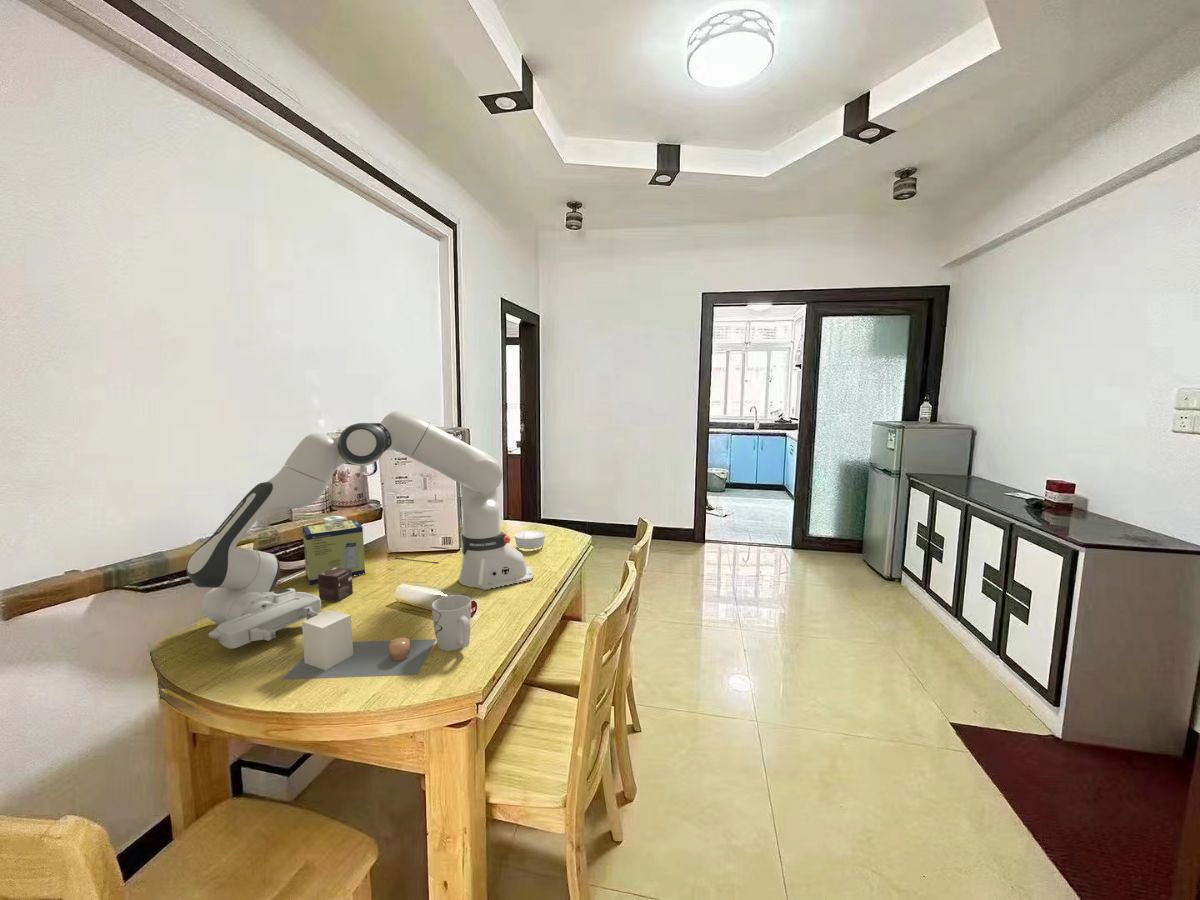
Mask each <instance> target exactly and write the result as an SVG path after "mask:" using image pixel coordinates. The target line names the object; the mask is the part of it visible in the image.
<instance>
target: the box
mask: <svg viewBox="0 0 1200 900" xmlns="http://www.w3.org/2000/svg"><path fill="white" fill-rule="evenodd" d="M317 584H318V597H320V599H321V601H325V602H327V601H328V602H340V601H343V599H344V600H345V599H346V598H348V597H349V596H351V595H352V594H354V589H353V577H352V573H351V569H345V568H332V569H330V570H327V571H325V572H323V573H321V574H319V575H318V583H317ZM347 596H348V597H347Z"/></svg>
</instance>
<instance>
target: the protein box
mask: <svg viewBox="0 0 1200 900" xmlns="http://www.w3.org/2000/svg"><path fill="white" fill-rule="evenodd" d="M363 528H364V527H363V526H362V525H361V524H360V523H359V521H358V520H357V519H351V520H347V521H343V522H337V523H329V524H323V523H322V524H317V525H309V526H308V525H307V526H302V537H303V548H304V549H303V551H304V552H303V553H304V561H305V574H306V579H307V581H308V583H309V586H312V585H317V584H319V583H318V575H319V574H321V573H323V572H325V571H327V570H330V569H332V568H345V569H351V573H352V576H353V577H355V576H354V575H358V576H360V575H359V574H363V573H365V574H366V568H365V567H366V562H365V544H364V532H363V531H364V529H363ZM363 575H364V574H363Z"/></svg>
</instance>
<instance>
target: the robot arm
mask: <svg viewBox="0 0 1200 900" xmlns="http://www.w3.org/2000/svg"><path fill="white" fill-rule="evenodd" d="M386 451H393V452H398V453H401V454H403V455H404V456H406V457H408V458H410V459H412V460H415V461H417V462H418V463H421V464H423V465H425V466H426V467H429V468H431V469H433V470H435V471H437V472H438V473H440V474H442V475H443V476H445V477H447V478H449V479H451V480H453V481H454V482H457V484H459V485H460V495H461V507H462V510H461V511H462V534H461V541H460V543H461V544H460V545H461V546H460V547H461V549H462V551H461V552H462V561H461V569H460V574H459V577H458V582H459V584H461V585H463V586H466V587H469V588H478V589H480V590H484V591H486V590H487V589H488V590H492V589H491V588H493V589H497V588H496V587H498V588H501V587H500V586H502V587H505V586H504V585H507V586H509V585H508V584H512V585H514V584H513V583H517V582H521V581H526V580H530V579H532V578H533V579H534V577H533V574H534V570H533V569H532V567H530V566H529V565H528V564H527V562H526V559H525V557H524V555H523V553H522V551H520V550H519V549H517V548H515V547H514V546H512V545H511V544H510V542H511V537H510V536H509V535H508V534H507V533H506V532H504V531H501V506H500V501H499V491H498V487H499V486H500V484H501V482H502V481H503V469H502V466H501V464H500V462H499V461H498V460H497V459H496V458H494V456H492V455H490V454H489V453H488V452H486V451H485V450H484V451H483V450H480V449H478V448H476V447H474V446H472V445H470V444H468V443H466V442H465V441H463V440H461V439H460V438H458V437H456V436H454V435H452V434H451V433H448V432H446V431H445V430H442V429H441V428H439V427H438V426H435V425H433V424H431V423H429V422H428V421H425V420H424V419H421V418H418V417H416V416H414V415H412V414H408V413H405V412H403V411H402V412H401V411H397V410H396V411H392V412H390V413H388V414H387V415H386V416H384V417H383V419H382V420H381V422H360V423H359V422H358V423H357V422H356V423H354V424H351V425H349V426H346V427H345V429H344V430H342V431H341V434H340V435H339V436H337V437H333V436H330V435H326V434H323V433H316V432H315V433H309V434H308V435H306V436H305V437H304V438H303V439H302V440H301V441H300V442H299V443H298V445H297V446H296V447H295V448H294V449H293V451H292V452H291V454H290V455H289V456H288V458H287V459H286V461H285V462H284V464H283V466H282V467H281V468H280V470H279V471H278V472H277V474H275V475H274V476H273V477H272V478H270V479H269V480H267V481H265V482H259V483H258V484H256V485H255V486H254V487H252V489H250V490H249V492H247V494H245V496H244V497H243V498H242V499H241V500H240V501H239V502H238V504H237V505H236V506H235V508H234V509H233V510H231V512H230V513H229V515H228V516H227V517H226V518H225V519H224V521H222V523H221V524H220V526H219V527H218V528H216V530H215V532H213V534H212V535H211V536H210V537H209V538H208V539H207V540H206V541H205V542H204V543H201V545H200V546H199V547H198V548H197V549H196V550H195V551H193V553H192V554H191V556H190V557H189V559H188V561H187V564H186V567H185V569H186V573H187V576H188V579H189V580H190V582H191V583H193V585H194V586H196V587H198V588H209V589H210V588H212V589H210V590H209V591H207V592H206V594H205V595H204V596H203V598H202V601H201V609H202V611H203V614H204V615H205V616H206V618H208V619H209V620H210V621H212V622H213V623H216V624H218V626H217V627H215V628H213V629H212V631H210V632H209V633H208V637H209V638H211V639H214V640H215V639H217V640H218V642H219V643H220V645H222V646H223V647H225V648H227V649H237V648H239V647H242V646H244V645H247V644H249V643H251V642H253V641H254V642H255V641H262V640H265V641H266V642H267V641H271V640H273V639H274V638H275V639H276V636H277V635H276V632H277V631H279V630H282V629H284V628H286V627H289V626H290V625H293V624H296V623H298V622H300V621H304V619H305V620H307V619H310V618H312V617H314V616H317V615H319V614H320V612H321V610H322V600H321V599H320V597H319V595H316V594H312V593H309V592H304V591H296V589H295V588H293V587H292V588H291V587H290V588H289V587H288V588H285V589H279V590H274V588H275V587H276V585H277V583H278V581H279V578H280V574H281V567H280V566H281V565H280V562H279V559H278V558H277V556H276V555H275V554H273V553H269V552H266V551H261V550H257V549H249V548H244V547H239V546H238V544H239V542H240V541H241V540H242V539H243V538H244V537H245V536H246V534H247V532H248V531H249V530H250V529H251V528H252V527H253V525H254V524H255V523H256V521H258V519H259V518H261V517H262V516H264V515H265V514H268V513H270V512H274V511H275V512H276V511H278V510H279V511H280V510H288V509H289V510H292V509H293V510H294V509H300V508H305V507H308V506H310V505H312V504H314V503H316V502H317V501H318V500H319V499H320V498H321V497H322V495H323V494H324V492H325V491H326V489H327V487H328V485H329V483H330V482H331V479H332V478H333V476H334V474H335V473H336V471H337V470H338V468H339V467H341V466H342V465H351V466H358V467H359V466H360V467H364V466H370V465H372V464H375V463H376V462H377V461H379V459H381V458H382V456H383V454H384V453H385V452H386ZM533 579H532V580H533ZM530 581H531V580H530ZM526 582H527V581H526ZM521 583H522V582H521ZM517 584H518V583H517ZM273 590H274V591H273Z"/></svg>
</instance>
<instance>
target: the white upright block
mask: <svg viewBox="0 0 1200 900" xmlns="http://www.w3.org/2000/svg"><path fill="white" fill-rule="evenodd" d="M301 627H302V628H301V629H302V640H303V641H302V642H303V658H304V659H305V663H306V664H309V665H312V666H315V667H317V668H320V669H323V670H327V669H329V668H331V667H332V666H334V665H336V664H338V663H340V662H341V661H343V660H345V659H347V658H349V657H351V656H352V655H353V643H352V642H353V631H352V630H353V628H352V615H351V614H349V613H345V612H341V611H337V610H334V609H328V610H326V611H323V612H321V613H318V615H317V616H314V617H312V618H310V619H307V618H306V619H305V620H302V621H301Z"/></svg>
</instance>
